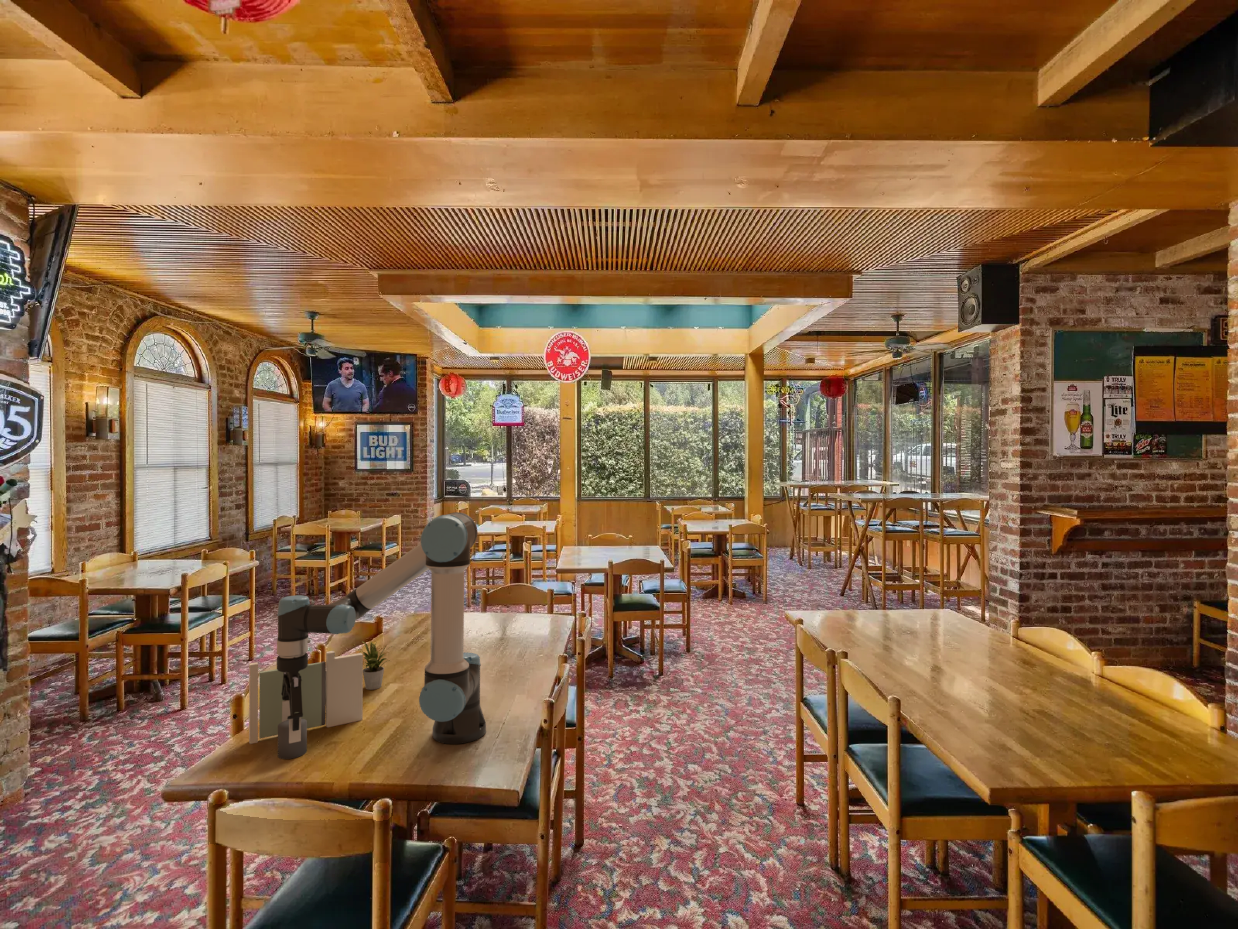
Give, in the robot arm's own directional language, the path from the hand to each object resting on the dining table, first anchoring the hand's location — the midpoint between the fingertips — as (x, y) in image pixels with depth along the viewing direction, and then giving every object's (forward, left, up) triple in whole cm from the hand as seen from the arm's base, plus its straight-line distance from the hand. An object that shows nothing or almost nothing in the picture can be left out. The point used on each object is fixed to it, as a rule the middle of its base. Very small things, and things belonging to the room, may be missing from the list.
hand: (291, 732), depth 173 cm
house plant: (+42, -30, -6) cm, 52 cm away
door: (+14, -2, -5) cm, 15 cm away
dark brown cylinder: (0, 0, -6) cm, 6 cm away
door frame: (+14, -6, -6) cm, 16 cm away
